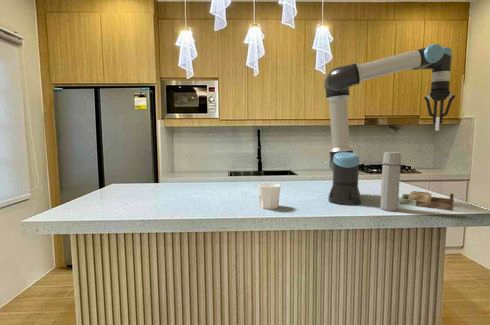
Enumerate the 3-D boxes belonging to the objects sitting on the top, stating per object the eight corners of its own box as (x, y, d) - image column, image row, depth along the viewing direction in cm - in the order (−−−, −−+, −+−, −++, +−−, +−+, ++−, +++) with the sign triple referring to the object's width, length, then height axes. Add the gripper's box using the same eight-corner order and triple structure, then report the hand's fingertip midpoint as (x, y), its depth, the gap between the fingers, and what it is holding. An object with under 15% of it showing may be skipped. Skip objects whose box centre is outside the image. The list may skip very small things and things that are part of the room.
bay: (398, 204, 143) (399, 193, 142) (402, 198, 154) (403, 188, 154) (452, 210, 131) (453, 199, 130) (452, 204, 142) (453, 193, 142)
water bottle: (401, 212, 128) (404, 153, 126) (381, 211, 130) (384, 152, 127) (395, 206, 137) (398, 151, 135) (376, 205, 139) (379, 151, 136)
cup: (254, 208, 134) (255, 186, 133) (261, 203, 143) (261, 182, 142) (277, 210, 130) (277, 187, 129) (282, 205, 140) (282, 184, 138)
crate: (407, 204, 143) (408, 193, 143) (411, 201, 149) (412, 190, 149) (427, 207, 138) (428, 195, 137) (430, 203, 144) (431, 192, 143)
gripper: (424, 81, 147) (421, 130, 149) (457, 79, 140) (453, 130, 142) (425, 83, 153) (422, 130, 156) (456, 81, 146) (453, 130, 148)
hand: (437, 130), depth 149 cm, fingers closed
